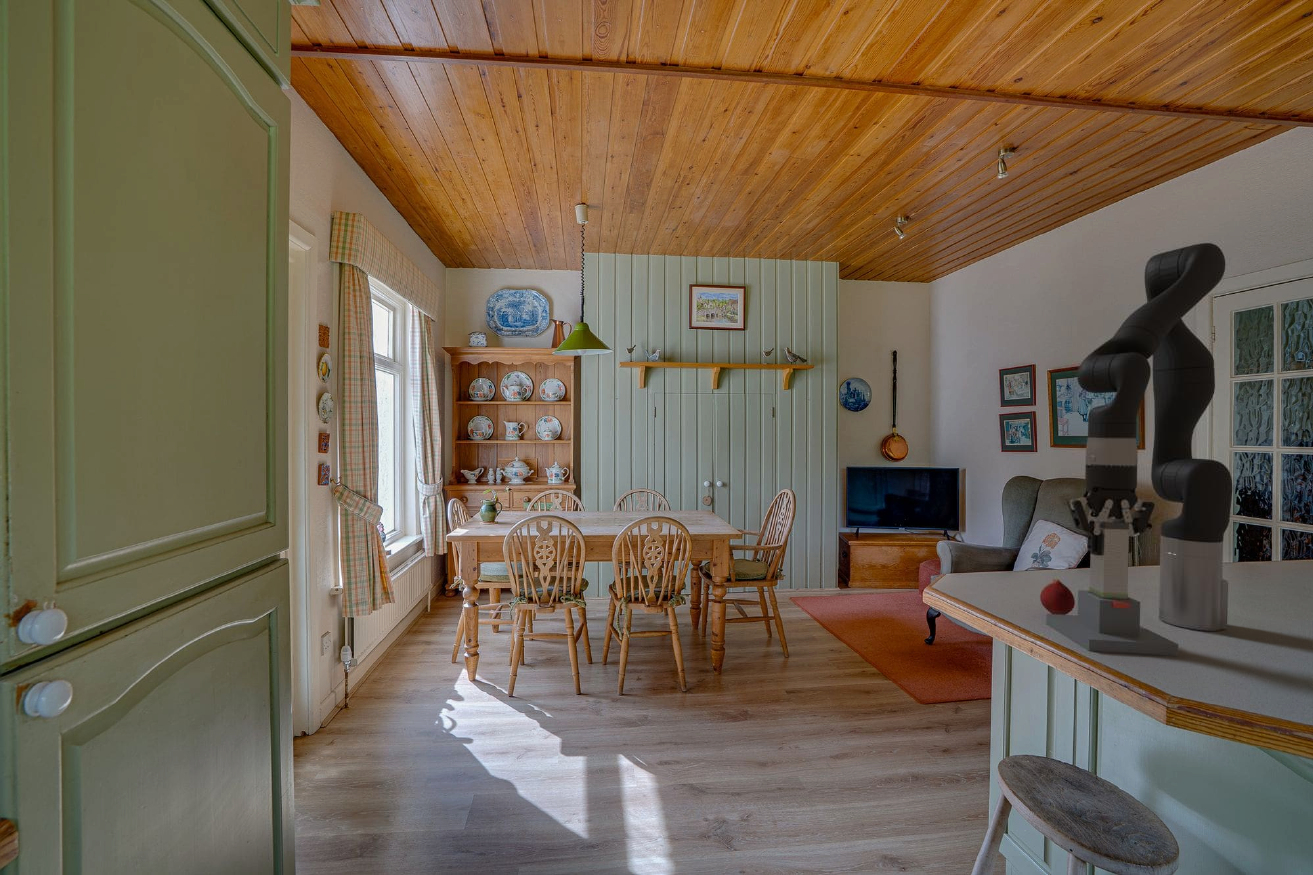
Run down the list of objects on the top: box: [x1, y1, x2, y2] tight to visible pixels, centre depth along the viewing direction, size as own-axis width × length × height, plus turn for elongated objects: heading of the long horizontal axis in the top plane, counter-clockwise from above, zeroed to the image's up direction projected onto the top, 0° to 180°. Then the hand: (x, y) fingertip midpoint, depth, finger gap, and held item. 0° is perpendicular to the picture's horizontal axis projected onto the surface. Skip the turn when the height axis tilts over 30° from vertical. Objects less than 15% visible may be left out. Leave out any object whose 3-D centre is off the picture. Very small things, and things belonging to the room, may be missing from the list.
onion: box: [1039, 578, 1076, 615], centre depth 118 cm, size 6×6×8 cm
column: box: [1088, 518, 1129, 600], centre depth 106 cm, size 4×4×14 cm
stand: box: [1045, 589, 1179, 657], centre depth 106 cm, size 14×14×8 cm
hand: (1108, 554), depth 106 cm, fingers closed on column, 4 cm apart
